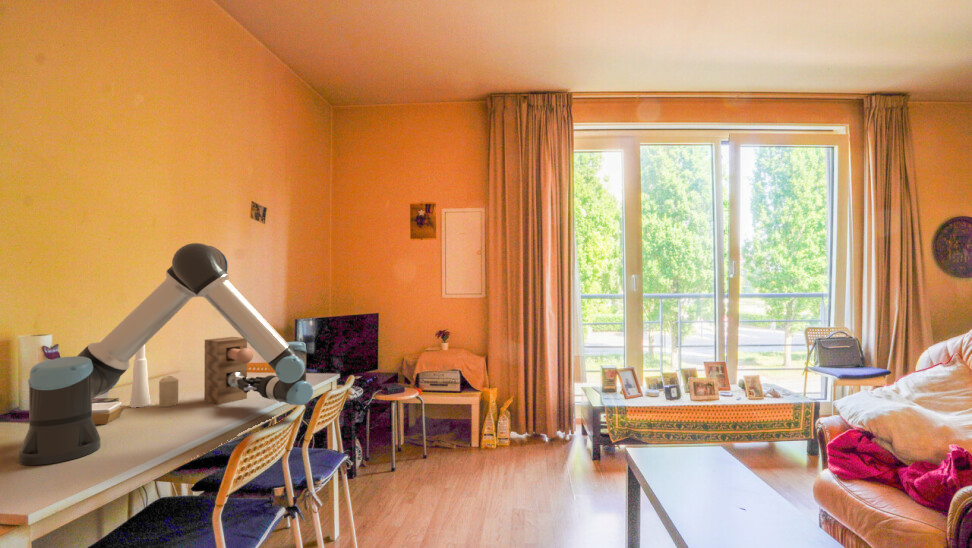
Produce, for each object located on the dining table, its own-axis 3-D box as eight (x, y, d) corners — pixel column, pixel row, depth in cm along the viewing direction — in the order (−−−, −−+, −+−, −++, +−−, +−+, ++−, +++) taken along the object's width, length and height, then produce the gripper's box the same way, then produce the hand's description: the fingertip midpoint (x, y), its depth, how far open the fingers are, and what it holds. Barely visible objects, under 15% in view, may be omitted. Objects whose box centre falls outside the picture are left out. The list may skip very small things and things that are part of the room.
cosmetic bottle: (143, 402, 165) (143, 340, 165) (155, 404, 163) (155, 341, 163) (125, 407, 159) (125, 343, 159) (137, 408, 157) (137, 343, 157)
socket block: (246, 398, 170) (246, 338, 171) (218, 404, 162) (219, 341, 162) (232, 394, 176) (232, 336, 176) (204, 400, 167) (204, 339, 168)
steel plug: (243, 385, 167) (243, 371, 167) (228, 388, 163) (228, 373, 163) (226, 381, 173) (226, 367, 173) (212, 384, 169) (212, 370, 169)
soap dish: (59, 429, 136) (59, 412, 136) (78, 419, 146) (78, 403, 146) (110, 425, 140) (110, 408, 140) (125, 416, 149) (125, 400, 149)
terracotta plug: (253, 362, 164) (253, 347, 164) (238, 364, 160) (238, 349, 160) (236, 359, 170) (236, 345, 170) (221, 361, 166) (221, 346, 166)
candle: (181, 404, 163) (181, 375, 163) (163, 407, 158) (163, 378, 158) (173, 402, 166) (173, 374, 166) (156, 405, 161) (156, 376, 161)
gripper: (256, 403, 147) (218, 394, 160) (293, 395, 158) (254, 386, 170) (256, 380, 147) (218, 372, 160) (293, 373, 158) (254, 366, 171)
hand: (236, 379), depth 165 cm, fingers closed
